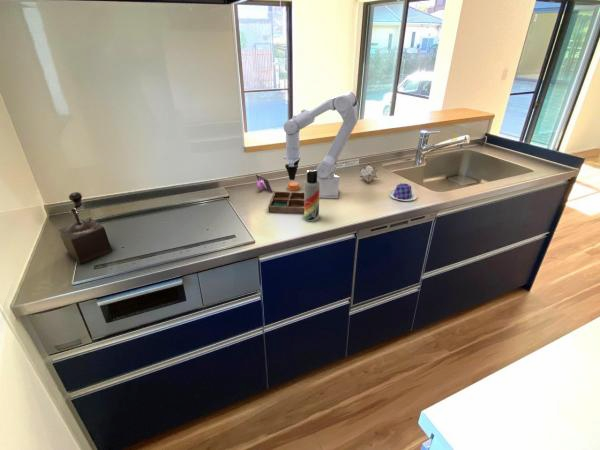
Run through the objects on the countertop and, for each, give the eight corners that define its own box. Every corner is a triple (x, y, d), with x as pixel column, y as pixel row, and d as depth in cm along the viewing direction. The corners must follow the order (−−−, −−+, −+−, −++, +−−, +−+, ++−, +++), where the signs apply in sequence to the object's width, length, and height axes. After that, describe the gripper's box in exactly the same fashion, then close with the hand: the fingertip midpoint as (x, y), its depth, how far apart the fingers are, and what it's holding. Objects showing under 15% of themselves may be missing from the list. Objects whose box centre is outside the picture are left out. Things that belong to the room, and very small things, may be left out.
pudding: (404, 189, 159) (406, 178, 157) (422, 199, 150) (424, 188, 147) (383, 193, 155) (384, 182, 152) (399, 204, 145) (401, 193, 143)
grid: (307, 198, 151) (308, 192, 150) (305, 214, 138) (305, 208, 137) (274, 196, 152) (274, 191, 151) (268, 212, 139) (268, 206, 138)
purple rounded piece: (268, 179, 152) (257, 173, 158) (259, 185, 150) (248, 179, 156) (273, 190, 157) (262, 184, 163) (264, 197, 155) (253, 190, 161)
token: (299, 186, 162) (299, 181, 160) (298, 191, 157) (298, 186, 156) (288, 186, 162) (288, 181, 161) (287, 190, 158) (287, 185, 157)
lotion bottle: (308, 223, 132) (309, 173, 122) (301, 216, 136) (301, 168, 126) (321, 219, 134) (323, 171, 124) (314, 213, 138) (315, 166, 128)
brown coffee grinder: (115, 249, 116) (99, 201, 107) (80, 265, 108) (60, 214, 100) (94, 234, 124) (78, 189, 115) (60, 248, 117) (40, 200, 108)
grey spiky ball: (364, 186, 171) (365, 167, 172) (380, 184, 165) (381, 164, 166) (355, 182, 164) (356, 162, 165) (371, 180, 158) (372, 159, 160)
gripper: (285, 142, 156) (286, 170, 163) (281, 152, 144) (282, 182, 151) (301, 142, 156) (301, 170, 163) (298, 152, 143) (298, 182, 150)
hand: (293, 176), depth 157 cm, fingers open, 7 cm apart
